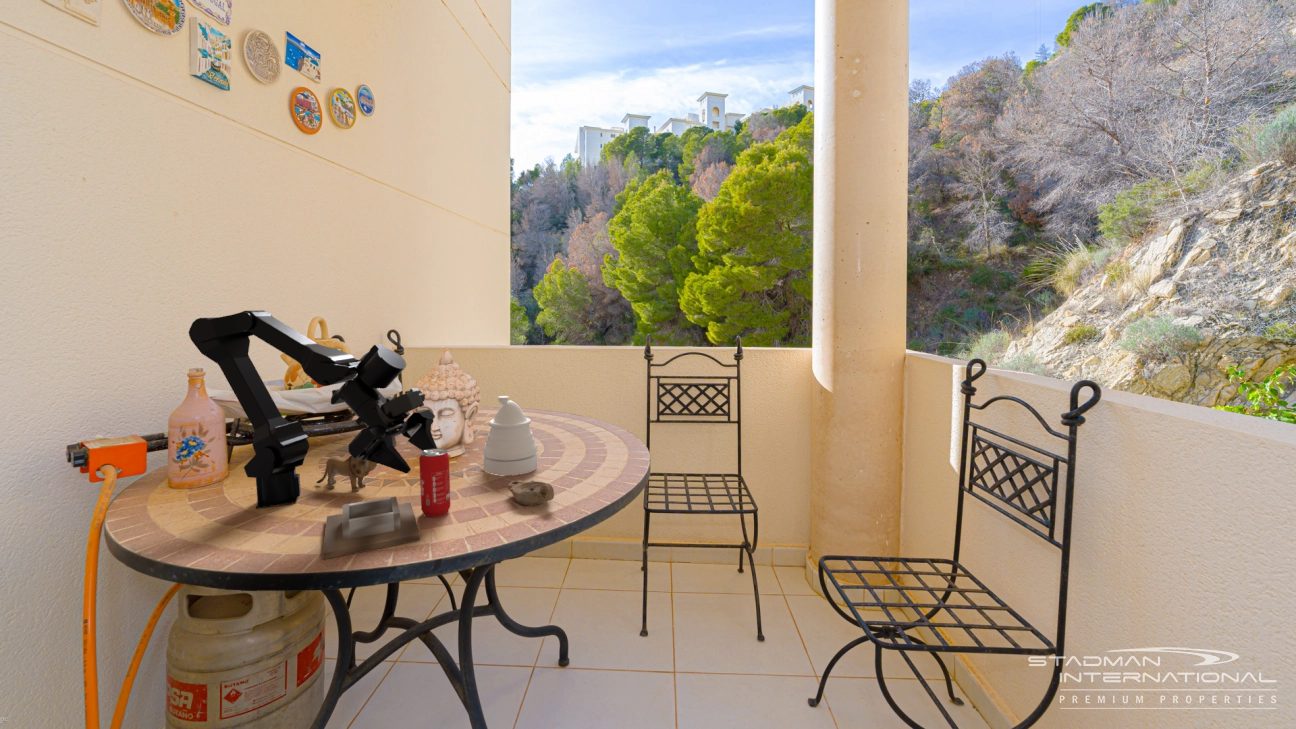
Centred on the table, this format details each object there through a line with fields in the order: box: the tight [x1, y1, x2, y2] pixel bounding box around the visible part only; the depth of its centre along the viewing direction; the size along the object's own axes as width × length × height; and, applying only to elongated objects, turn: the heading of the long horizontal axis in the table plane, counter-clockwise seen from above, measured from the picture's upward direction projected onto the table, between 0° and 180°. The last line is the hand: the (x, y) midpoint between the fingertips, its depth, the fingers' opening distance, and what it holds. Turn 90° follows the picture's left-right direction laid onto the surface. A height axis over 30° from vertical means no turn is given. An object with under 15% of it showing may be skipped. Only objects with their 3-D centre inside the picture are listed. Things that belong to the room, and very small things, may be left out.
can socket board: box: [322, 496, 421, 560], centre depth 90 cm, size 14×16×4 cm
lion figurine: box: [316, 455, 379, 493], centre depth 111 cm, size 15×5×9 cm, turn 83°
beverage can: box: [418, 448, 452, 518], centre depth 98 cm, size 5×5×12 cm
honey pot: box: [483, 395, 539, 476], centre depth 125 cm, size 13×13×18 cm
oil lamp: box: [506, 479, 555, 506], centre depth 104 cm, size 13×8×5 cm, turn 47°
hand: (424, 464), depth 98 cm, fingers open, 9 cm apart
